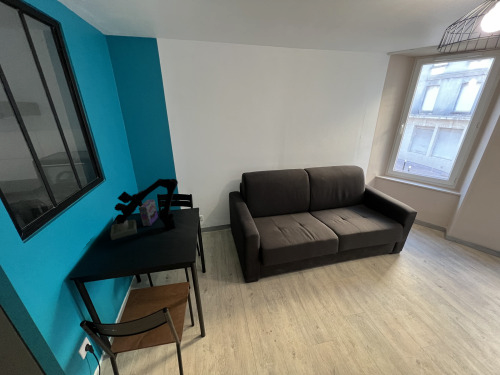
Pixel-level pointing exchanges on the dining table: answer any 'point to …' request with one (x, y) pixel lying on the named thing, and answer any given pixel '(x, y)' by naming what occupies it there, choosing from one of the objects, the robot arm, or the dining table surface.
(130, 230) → the bin
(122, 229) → the jar
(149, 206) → the candy box
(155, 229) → the dining table surface
